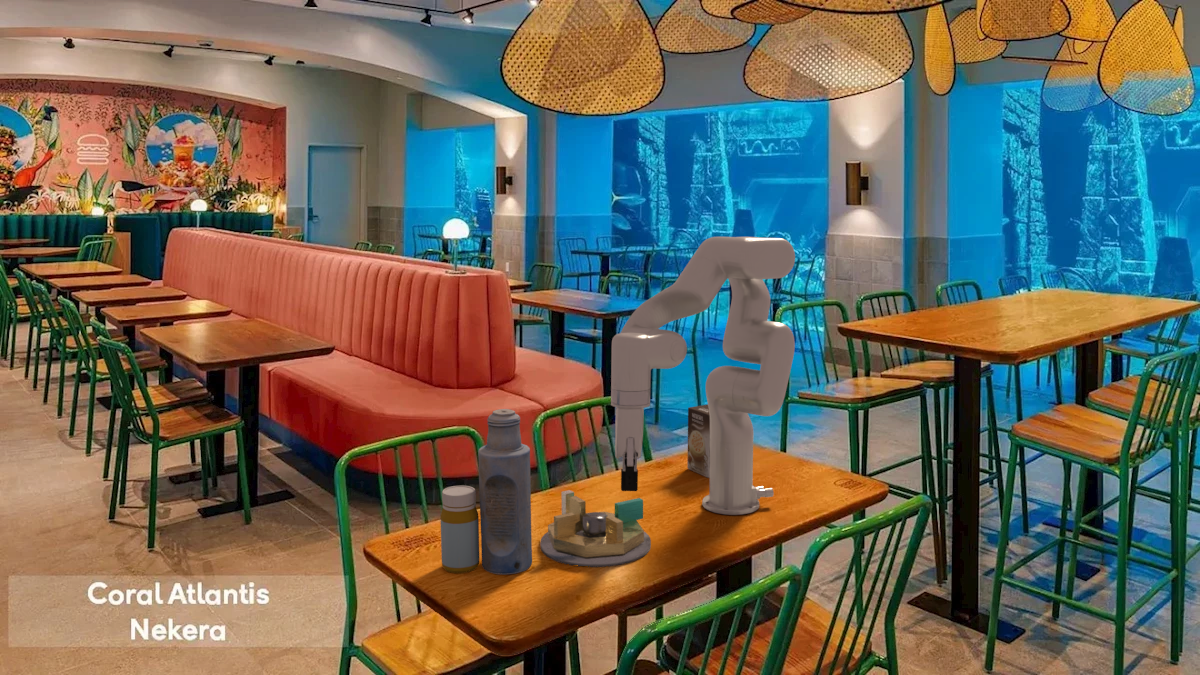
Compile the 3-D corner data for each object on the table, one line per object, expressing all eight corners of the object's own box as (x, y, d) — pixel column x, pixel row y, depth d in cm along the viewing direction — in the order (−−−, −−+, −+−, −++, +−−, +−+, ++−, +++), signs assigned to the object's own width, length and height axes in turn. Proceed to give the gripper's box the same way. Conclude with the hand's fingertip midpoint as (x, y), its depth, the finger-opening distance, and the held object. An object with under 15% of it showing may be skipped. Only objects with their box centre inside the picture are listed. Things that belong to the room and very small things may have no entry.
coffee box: (686, 468, 239) (686, 407, 236) (706, 465, 242) (707, 403, 240) (707, 478, 231) (708, 414, 229) (728, 474, 234) (729, 411, 232)
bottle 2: (475, 574, 175) (470, 416, 170) (489, 554, 185) (485, 404, 180) (525, 577, 174) (522, 418, 169) (537, 556, 183) (534, 405, 178)
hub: (635, 521, 202) (635, 485, 201) (663, 561, 180) (663, 521, 179) (533, 529, 198) (532, 492, 196) (549, 571, 176) (548, 530, 174)
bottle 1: (487, 565, 179) (485, 489, 177) (459, 577, 174) (457, 499, 171) (461, 557, 183) (460, 482, 181) (434, 568, 178) (432, 491, 176)
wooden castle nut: (636, 519, 199) (636, 490, 198) (658, 550, 182) (658, 520, 181) (544, 526, 195) (543, 497, 194) (558, 559, 178) (557, 528, 177)
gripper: (611, 389, 189) (610, 478, 191) (610, 405, 174) (609, 501, 176) (648, 390, 189) (647, 479, 191) (651, 405, 174) (650, 502, 176)
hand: (629, 489), depth 184 cm, fingers closed
